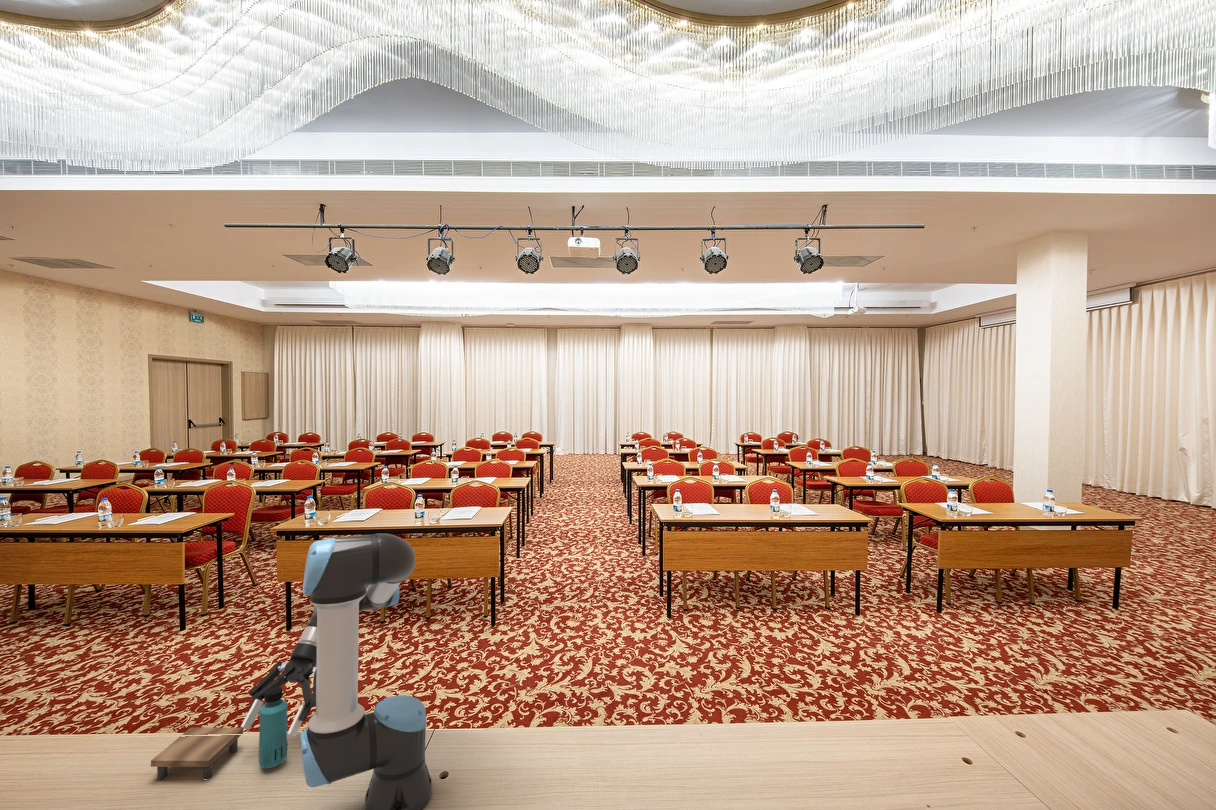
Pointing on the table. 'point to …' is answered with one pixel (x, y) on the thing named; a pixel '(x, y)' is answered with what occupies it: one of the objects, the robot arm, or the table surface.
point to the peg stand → (197, 750)
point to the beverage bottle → (273, 729)
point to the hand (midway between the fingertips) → (267, 731)
